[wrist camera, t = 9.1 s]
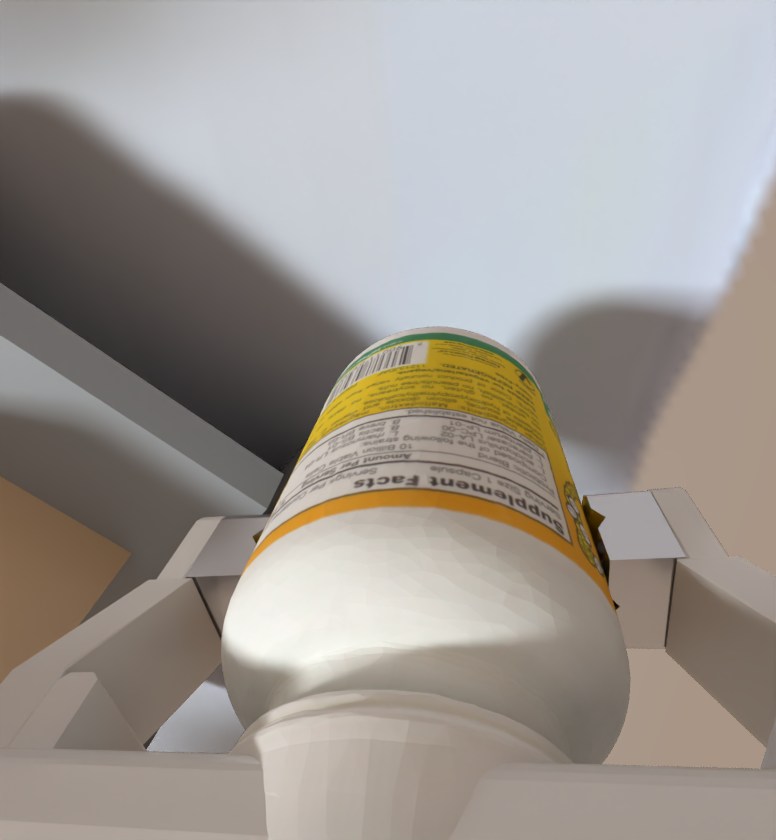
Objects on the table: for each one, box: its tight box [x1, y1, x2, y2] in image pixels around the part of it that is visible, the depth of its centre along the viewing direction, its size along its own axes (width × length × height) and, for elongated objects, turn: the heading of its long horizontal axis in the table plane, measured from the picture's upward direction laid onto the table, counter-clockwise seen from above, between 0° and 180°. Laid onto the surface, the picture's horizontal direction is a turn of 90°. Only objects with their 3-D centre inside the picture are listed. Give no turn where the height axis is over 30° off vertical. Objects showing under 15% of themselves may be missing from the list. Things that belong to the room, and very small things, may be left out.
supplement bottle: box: [221, 327, 630, 840], centre depth 9 cm, size 5×5×10 cm
